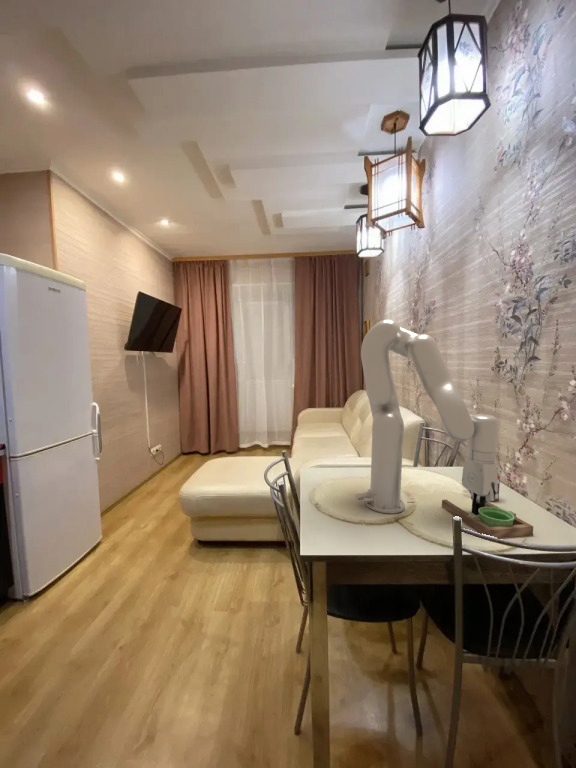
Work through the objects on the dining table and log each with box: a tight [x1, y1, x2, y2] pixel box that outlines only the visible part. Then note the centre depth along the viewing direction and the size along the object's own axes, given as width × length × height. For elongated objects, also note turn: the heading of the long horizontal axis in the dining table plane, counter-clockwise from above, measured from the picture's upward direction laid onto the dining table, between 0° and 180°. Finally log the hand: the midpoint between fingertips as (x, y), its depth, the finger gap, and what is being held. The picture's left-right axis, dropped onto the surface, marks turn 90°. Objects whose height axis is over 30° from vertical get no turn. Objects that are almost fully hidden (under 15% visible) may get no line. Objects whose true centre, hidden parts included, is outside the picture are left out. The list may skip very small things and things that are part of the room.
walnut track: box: [441, 499, 534, 539], centre depth 106 cm, size 14×20×3 cm
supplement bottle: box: [493, 472, 501, 502], centre depth 123 cm, size 6×6×11 cm
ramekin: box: [478, 507, 514, 527], centre depth 102 cm, size 9×9×4 cm
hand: (477, 513), depth 109 cm, fingers closed
